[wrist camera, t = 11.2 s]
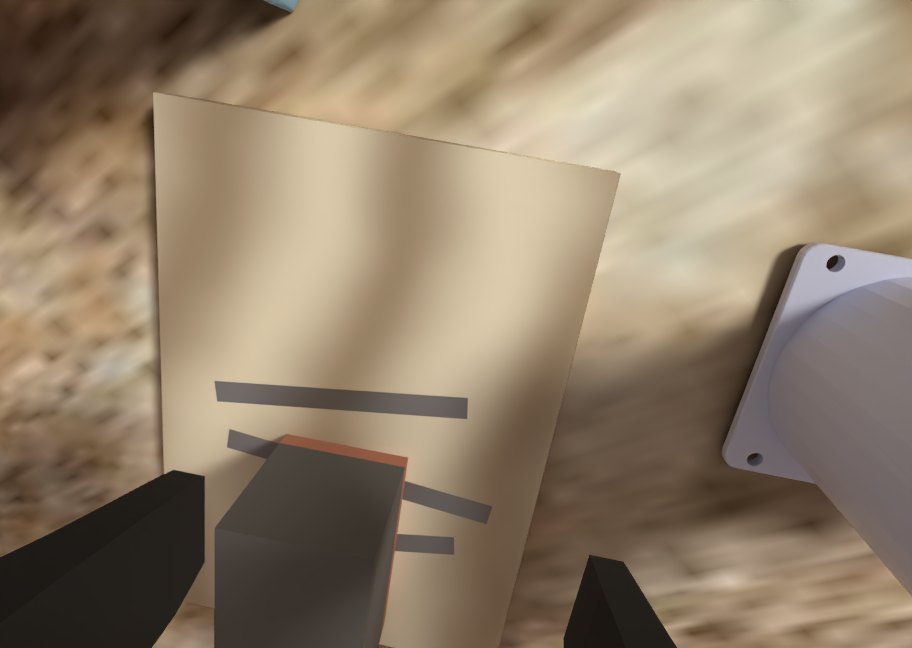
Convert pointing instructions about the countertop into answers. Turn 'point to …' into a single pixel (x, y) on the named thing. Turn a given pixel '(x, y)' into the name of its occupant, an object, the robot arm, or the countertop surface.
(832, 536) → the countertop surface
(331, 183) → the board
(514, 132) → the countertop surface
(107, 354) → the countertop surface
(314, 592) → the block
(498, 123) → the countertop surface
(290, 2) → the gum box
